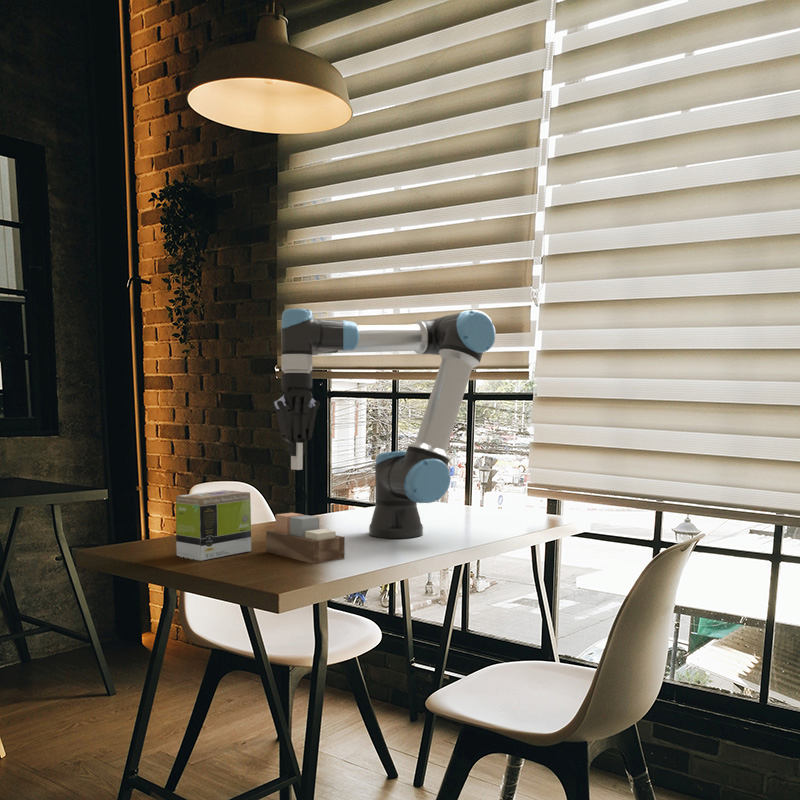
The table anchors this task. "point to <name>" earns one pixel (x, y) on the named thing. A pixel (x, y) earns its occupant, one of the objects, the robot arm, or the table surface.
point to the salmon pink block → (284, 522)
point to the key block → (305, 547)
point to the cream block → (320, 534)
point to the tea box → (213, 524)
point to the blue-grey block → (303, 524)
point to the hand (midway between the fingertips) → (296, 469)
